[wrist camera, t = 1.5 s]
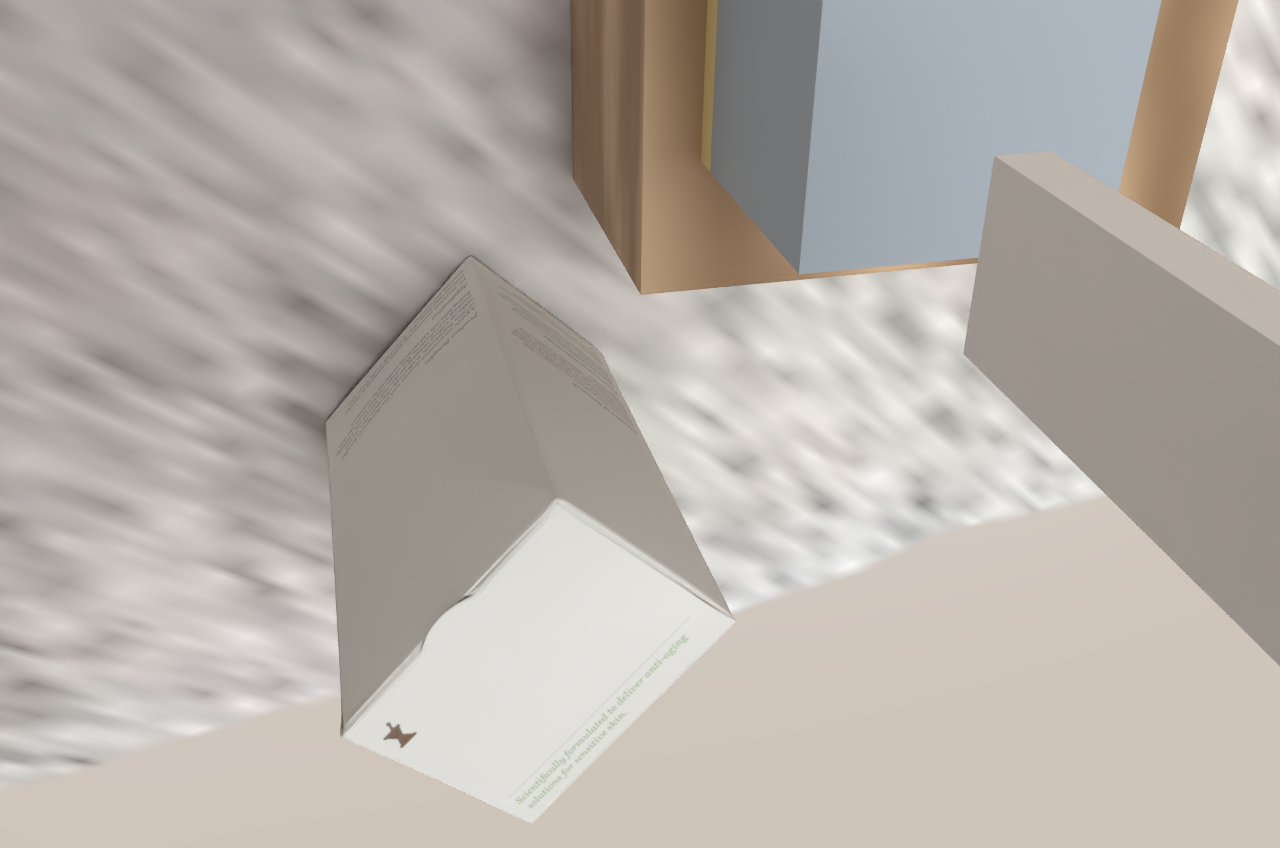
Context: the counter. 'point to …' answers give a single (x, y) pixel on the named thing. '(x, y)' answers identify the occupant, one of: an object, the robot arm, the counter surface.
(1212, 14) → the oak plinth
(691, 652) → the skincare box
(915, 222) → the slate-blue block
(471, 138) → the counter surface
